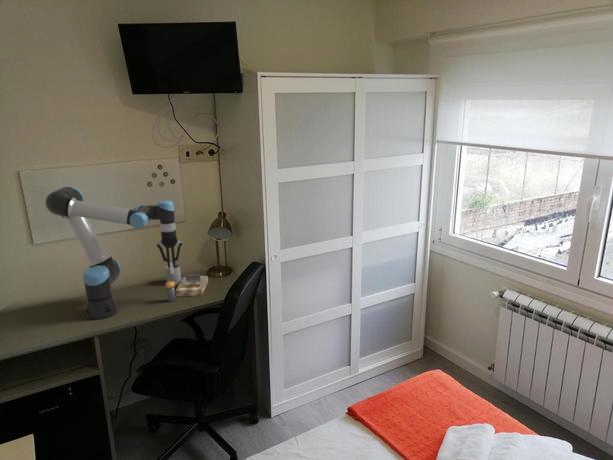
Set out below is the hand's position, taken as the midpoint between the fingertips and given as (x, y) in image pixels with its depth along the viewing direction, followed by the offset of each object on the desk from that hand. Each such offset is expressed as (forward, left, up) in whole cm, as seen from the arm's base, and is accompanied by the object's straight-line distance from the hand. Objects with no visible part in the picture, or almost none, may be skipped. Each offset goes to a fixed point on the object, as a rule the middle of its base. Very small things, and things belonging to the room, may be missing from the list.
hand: (172, 272), depth 243 cm
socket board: (+7, +12, -14) cm, 20 cm away
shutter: (+7, +15, -11) cm, 20 cm away
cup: (-6, +23, -15) cm, 28 cm away
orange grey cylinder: (-1, -3, -14) cm, 15 cm away
